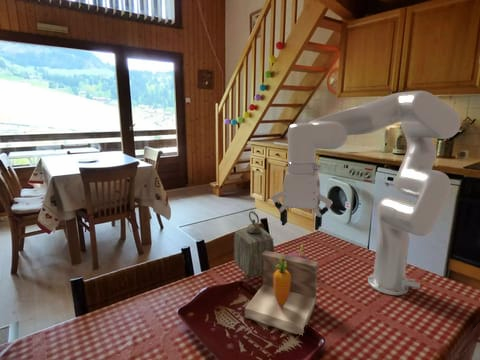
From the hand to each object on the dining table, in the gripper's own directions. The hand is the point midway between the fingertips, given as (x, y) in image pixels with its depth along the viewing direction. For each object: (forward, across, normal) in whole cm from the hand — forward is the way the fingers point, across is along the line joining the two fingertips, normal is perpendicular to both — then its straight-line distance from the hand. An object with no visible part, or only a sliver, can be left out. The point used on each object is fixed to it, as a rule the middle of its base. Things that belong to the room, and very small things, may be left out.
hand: (300, 226), depth 87 cm
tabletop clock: (+26, +20, -8) cm, 34 cm away
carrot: (+23, +3, +7) cm, 24 cm away
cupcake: (+27, +6, -20) cm, 34 cm away
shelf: (+26, +4, +5) cm, 27 cm away
